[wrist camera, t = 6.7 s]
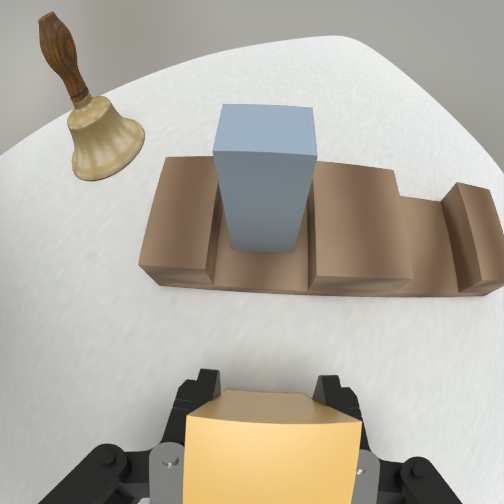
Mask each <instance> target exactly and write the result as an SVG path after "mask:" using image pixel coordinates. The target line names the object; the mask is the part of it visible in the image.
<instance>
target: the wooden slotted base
mask: <svg viewBox="0 0 504 504" xmlns="http://www.w3.org/2000/svg"><path fill="white" fill-rule="evenodd" d="M138 265H139V266H140V267H141V268H142V269H143V270H144V271H145V272H146V273H147V274H148V275H149V276H150V277H151V278H152V279H153V280H154V281H155V282H156V283H157V284H158V285H162V286H173V287H185V288H197V289H211V290H225V291H240V292H257V293H276V294H297V295H323V296H360V297H460V296H485V295H487V294H489V293H491V292H493V291H495V290H497V289H499V288H500V287H502V286H504V234H503V231H502V227H501V224H500V220H499V217H498V214H497V211H496V208H495V205H494V202H493V199H492V196H491V193H490V190H488V189H484V188H480V187H476V186H472V185H468V184H464V183H459V182H457V183H456V184H455V185H454V186H453V187H452V189H451V190H450V191H449V192H448V193H447V195H446V196H445V197H444V198H443V199H442V201H441V202H438V201H431V200H425V199H418V198H411V197H404V196H400V195H399V191H398V186H397V182H396V178H395V174H394V170H389V169H382V168H375V167H367V166H359V165H351V164H342V163H333V162H322V161H316V164H315V168H314V173H313V177H312V181H311V185H310V189H309V193H308V197H307V201H306V205H305V209H304V213H303V217H302V221H301V225H300V229H299V233H298V237H297V240H296V244H295V248H294V252H293V253H274V252H255V251H236V250H232V246H231V241H230V236H229V231H228V226H227V222H226V217H225V212H224V207H223V202H222V197H221V192H220V186H219V181H218V176H217V171H216V166H215V161H214V156H192V157H166V159H165V162H164V165H163V169H162V172H161V175H160V179H159V182H158V186H157V189H156V193H155V196H154V200H153V204H152V208H151V212H150V215H149V219H148V223H147V227H146V232H145V236H144V240H143V245H142V249H141V254H140V258H139V263H138Z"/></svg>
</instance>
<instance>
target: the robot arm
mask: <svg viewBox="0 0 504 504" xmlns="http://www.w3.org/2000/svg"><path fill="white" fill-rule="evenodd" d="M220 395H221V387H220V371H219V370H211V369H202V368H201V369H200V372H199V375H198V379H197V381H196V380H188V379H187V380H186V381H185V382H184V383H183V384H182V385H181V386H180V387H179V389H178V392H177V395H176V398H175V401H174V404H173V409H172V410H171V413H170V416H169V419H168V423H167V426H166V429H165V432H164V435H163V438H162V440H161V442H160V443H159V444H158V445H157V446H155V447H154V448H153V449H150V450H147V451H140V452H124V451H123V450H122V449H121V448H120V447H118V446H116V445H114V444H101V445H99V446H97V447H95V448H94V449H93V450H92V451H91V452H90V453H89V454H88V455H87V456H86V457H85V458H84V459H83V460H82V461H81V462H80V463H79V464H78V465H77V466H76V467H75V468H74V469H73V470H72V471H71V472H70V473H69V474H68V475H67V476H66V477H65V478H64V479H63V480H62V481H61V482H60V483H59V484H58V485H57V486H56V487H55V488H54V489H53V490H52V491H51V492H50V493H49V494H48V495H46V496H45V497H44V498H43V499H42V500H41V501H40V502H39V503H38V504H138V502H139V501H140V500H141V499H142V498H148V497H150V504H183V477H184V453H185V435H186V419H187V415H188V414H190V413H191V412H193V411H195V410H196V409H198V408H199V407H201V406H203V405H204V404H206V403H207V402H209V401H213V400H214V399H216V398H217V397H219V396H220ZM312 400H314V401H316V402H318V403H320V404H322V405H324V406H329V407H331V408H333V409H335V410H338V411H340V412H342V413H344V414H346V415H349V416H351V417H353V418H355V419H358V420H360V421H362V428H361V438H360V447H359V455H358V462H357V469H356V476H355V482H354V488H353V494H352V499H351V504H462V503H461V501H460V500H459V499H458V497H457V496H456V495H455V493H454V492H453V491H452V489H451V488H450V487H449V485H448V484H447V483H446V482H445V480H444V479H443V478H442V476H441V475H440V474H439V472H438V471H437V470H436V469H435V467H434V466H433V465H432V463H431V462H430V461H429V460H427V459H426V458H423V457H412V458H410V459H408V460H407V461H405V462H404V463H399V462H390V461H384V460H381V459H379V458H377V456H376V455H375V454H373V453H372V452H371V450H370V448H369V444H368V440H367V436H366V431H365V427H364V423H363V419H362V417H361V411H360V409H359V403H358V399H357V396H356V395H355V393H354V392H353V391H352V390H351V388H350V387H343V388H341V385H340V380H339V377H338V375H320V376H319V377H318V380H317V384H316V388H315V391H314V395H313V398H312Z"/></svg>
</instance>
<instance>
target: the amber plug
mask: <svg viewBox="0 0 504 504" xmlns="http://www.w3.org/2000/svg"><path fill="white" fill-rule="evenodd" d="M361 428H362V421H360V420H358V419H355V418H353V417H351V416H349V415H346V414H344V413H342V412H340V411H338V410H335V409H333V408H331V407H329V406H324V405H322V404H320V403H318V402H316V401H314V400H312V398H310V397H308V396H306V395H304V394H302V393H272V392H254V391H240V390H229V389H227V390H226V391H224V392H223V393H221V395H220V396H219V397H217V398H216V399H214V400H213V401H209V402H207V403H206V404H204V405H203V406H201V407H199V408H198V409H196V410H195V411H193V412H191V413H190V414H188V415H187V419H186V435H185V453H184V477H183V504H351V499H352V494H353V488H354V482H355V476H356V469H357V462H358V455H359V447H360V438H361Z"/></svg>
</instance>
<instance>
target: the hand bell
mask: <svg viewBox="0 0 504 504" xmlns="http://www.w3.org/2000/svg"><path fill="white" fill-rule="evenodd" d="M38 21H39V33H40V46H41V50H42V53H43V55H44V57H45V59H46V61H47V62H48V64H49V65H50V67H51V68H52V69H53V70H54V71H55V72H56V73H57V74H58V75H59V76H60V77H61V79H62V80H63V82H64V84H65V86H66V88H67V91H68V93H69V95H70V97H71V100H72V102H73V104H74V107H75V108H74V110H73V111H72V112H71V113H70V115H69V117H68V120H67V125H68V128H69V130H70V132H71V135H72V138H73V141H74V147H75V149H74V152H73V156H72V169H73V172H74V173H75V175H76V176H77V177H79V178H80V179H83V180H88V181H93V180H99V179H103V178H106V177H109V176H111V175H113V174H115V173H116V172H118V171H120V170H121V169H123V168H124V167H125V166H126V165H128V164H129V163H130V162H131V161H132V160H133V159H134V158H135V156H136V155H137V154H138V153H139V151H140V149H141V147H142V145H143V142H144V137H145V135H144V130H143V128H142V126H141V125H140V124H139V123H137V122H136V121H134V120H132V119H128V118H123V117H122V116H121V115H120V114H119V113H118V112H117V111H116V110H115V108H114V107H113V105H112V104H111V102H110V100H109V99H108V98H106V97H104V96H96V97H91V95H90V93H89V90H88V88H87V87H86V85H85V82H84V81H83V79H82V77H81V75H80V73H79V69H78V65H77V53H76V48H75V44H74V41H73V38H72V36H71V33H70V31H69V30H68V28H67V27H66V26H65V25H64V23H63V22H61V21H60V20H59V19H58V17H57V16H56V15H55V13H54V12H50V13H48V14H46V15H45V16H43V17H42V18H40V19H39V20H38Z"/></svg>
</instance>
